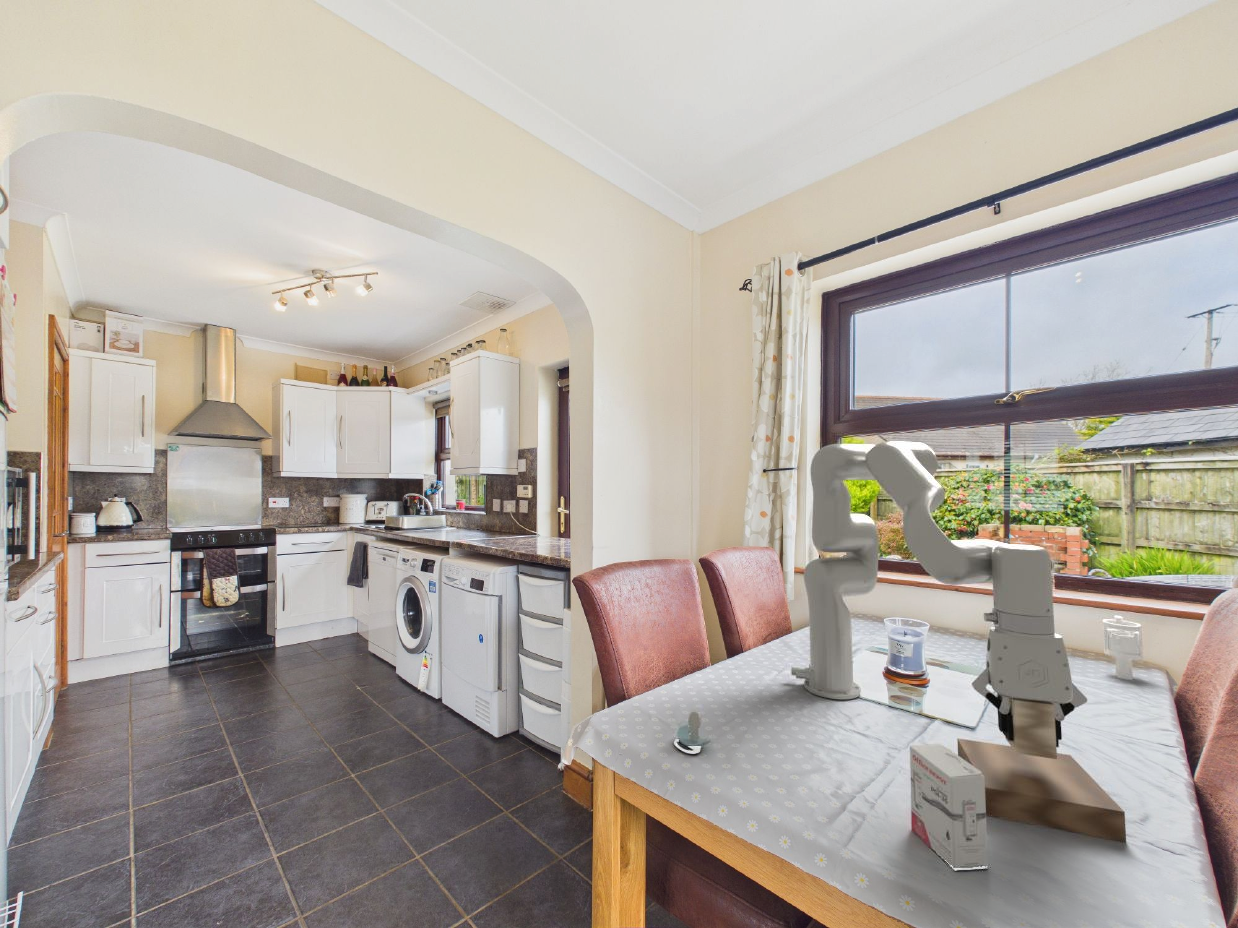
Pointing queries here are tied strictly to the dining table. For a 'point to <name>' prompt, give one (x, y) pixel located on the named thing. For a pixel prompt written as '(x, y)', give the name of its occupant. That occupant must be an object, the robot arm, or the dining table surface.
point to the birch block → (1033, 728)
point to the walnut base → (1043, 791)
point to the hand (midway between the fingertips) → (1029, 738)
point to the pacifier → (692, 732)
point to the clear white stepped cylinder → (1123, 645)
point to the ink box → (948, 805)
